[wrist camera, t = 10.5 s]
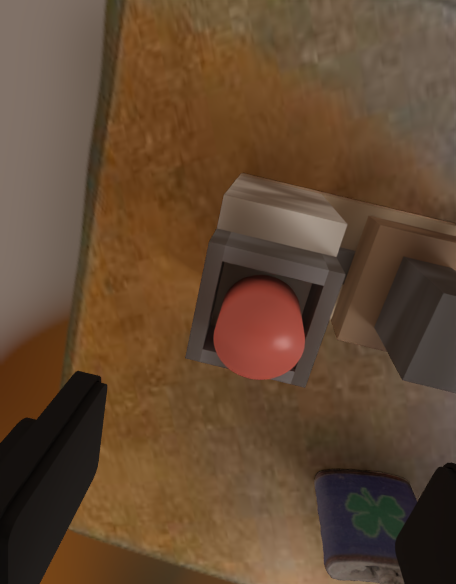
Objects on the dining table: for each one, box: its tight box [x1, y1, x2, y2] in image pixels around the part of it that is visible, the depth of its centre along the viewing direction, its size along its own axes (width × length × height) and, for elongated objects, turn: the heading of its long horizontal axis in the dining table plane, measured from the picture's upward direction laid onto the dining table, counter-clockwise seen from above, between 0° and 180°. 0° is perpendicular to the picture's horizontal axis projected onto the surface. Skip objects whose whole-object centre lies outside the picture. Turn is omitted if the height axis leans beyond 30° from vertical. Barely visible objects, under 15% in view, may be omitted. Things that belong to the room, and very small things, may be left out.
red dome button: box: [214, 275, 305, 380], centre depth 17 cm, size 4×4×3 cm
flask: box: [314, 469, 417, 584], centre depth 33 cm, size 9×3×11 cm, turn 87°
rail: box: [185, 173, 456, 387], centre depth 24 cm, size 29×9×14 cm, turn 78°
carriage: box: [331, 216, 456, 393], centre depth 23 cm, size 7×8×9 cm
